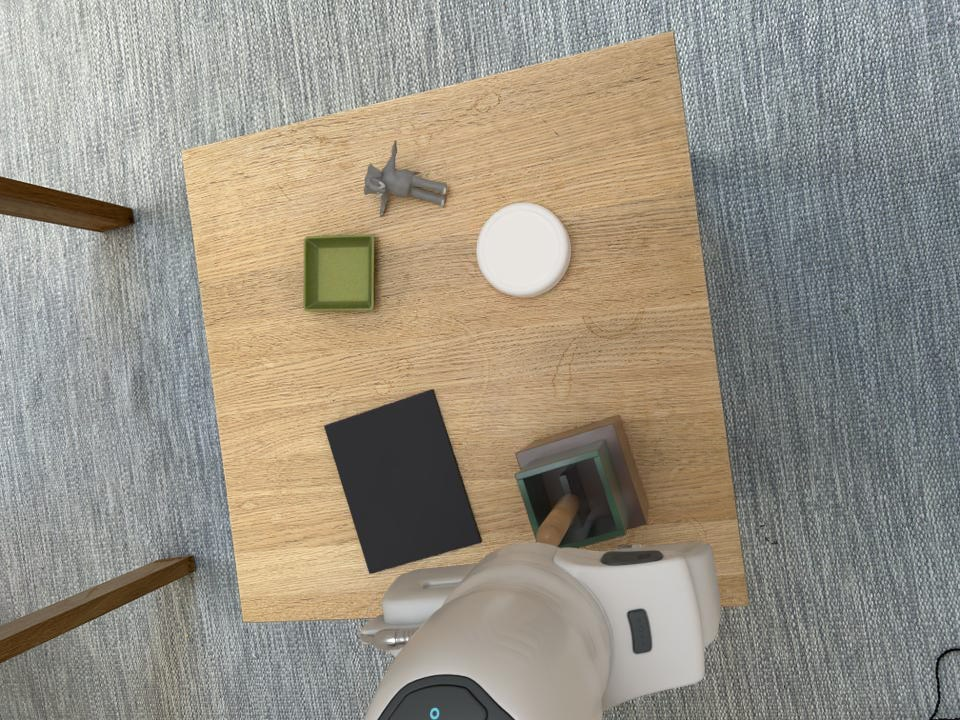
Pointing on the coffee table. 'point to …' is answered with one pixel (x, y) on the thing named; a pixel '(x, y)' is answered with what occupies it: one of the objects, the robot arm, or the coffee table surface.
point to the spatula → (565, 509)
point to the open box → (585, 481)
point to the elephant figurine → (400, 183)
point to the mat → (402, 482)
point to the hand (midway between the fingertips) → (563, 562)
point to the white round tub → (523, 250)
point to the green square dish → (339, 273)
